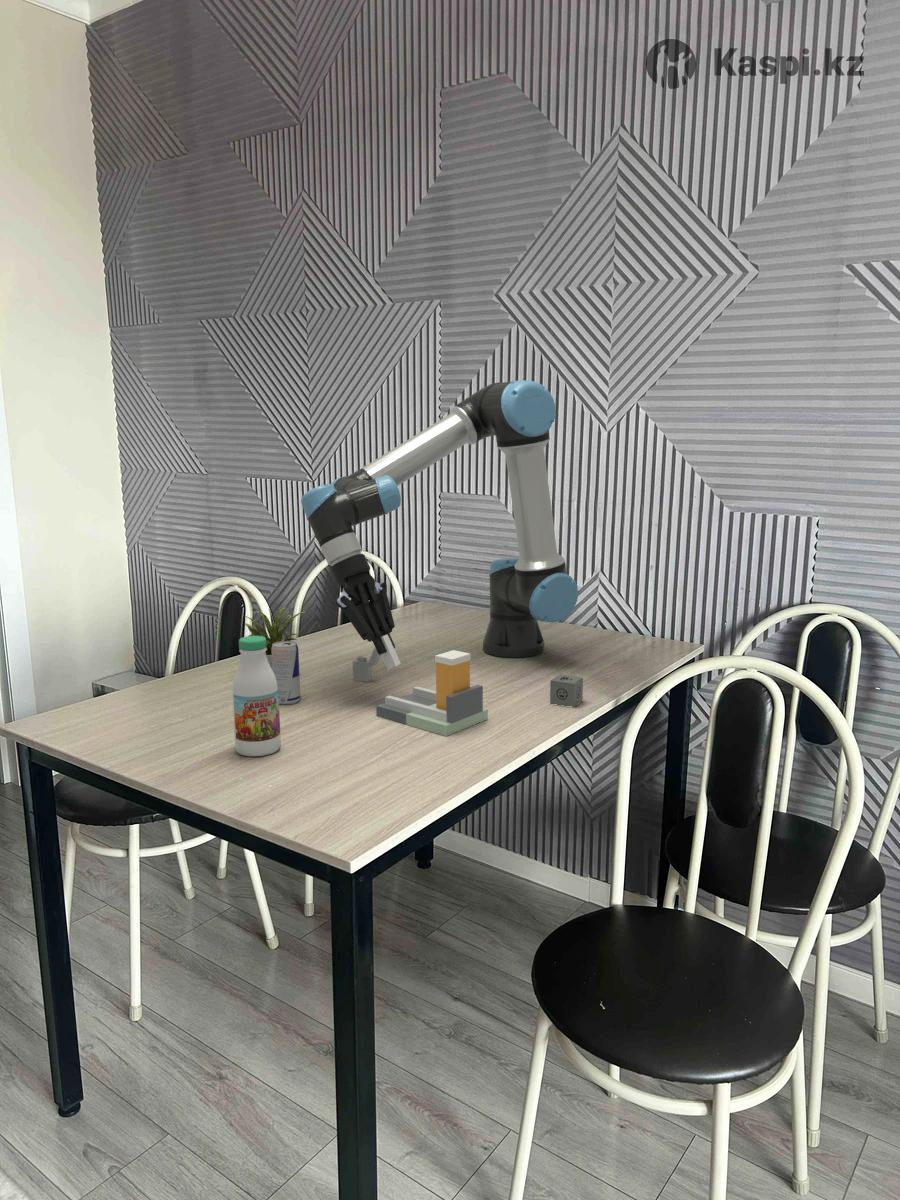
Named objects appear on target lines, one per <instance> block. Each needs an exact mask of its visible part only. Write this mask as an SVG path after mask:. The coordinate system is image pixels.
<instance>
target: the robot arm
mask: <svg viewBox="0 0 900 1200" xmlns="http://www.w3.org/2000/svg"><path fill="white" fill-rule="evenodd" d="M555 403H556V401H555V400H554V397H553V396H552V394H551V392H550V391H549V389H547V387H545V386H544V385H543V384H541V383H539V382H536V381H532V380H526V379H521V380H512V381H506V382H505V381H504V382H503V381H502V382H501V381H500V382H493V383H491V384H488V385H486V386H484V387H483V388H480V389H479V390H477V391H476V392H474V393H473V394H471V395H469V396H468V397H466V398H465V399H463V400H462V401H460V402H459V403H457V404H455V405H454V406H453V407H451V409H450V410H449V414H447V415H446V416H445V417H443V418H441V419H440V420H438V421H436V422H434V423H433V424H431V425H430V426H428V427H427V428H425V429H423V430H421V431H420V432H419V433H416V434H414V435H413V436H412V437H411V438H409V439H407V440H405V441H404V442H402V443H400V444H398V445H397V446H396V447H394V448H392V449H390V450H388V451H387V452H385V453H384V454H383V455H381V456H379V457H378V458H376V459H374V460H373V461H371V462H369V463H368V464H366V465H363V466H362V468H359V469H358V470H356V471H355V472H353V473H351V474H349V475H347V476H341V477H337V478H336V479H334V480H333V481H332V482H331V483H325V484H321V485H319V486H318V485H317V486H315V487H314V488H312V489H309V490H308V491H306V492H305V493H303V495H302V496H301V500H300V503H301V505H302V508H303V511H304V513H305V517H306V520H307V521H308V523H309V525H310V527H311V530H312V532H313V533H314V536H315V538H316V541H317V542H318V545H319V547H320V551H321V552H322V554H323V556H324V559H325V561H326V563H327V565H328V566H331V567H330V573H331V575H332V577H333V579H334V582H335V583H336V584H337V585H339V588H340V591H339V592H340V596H339V597H338V598H337V599H335V601H334V603H335V605H336V606H337V607H338V608H339V609H341V611H342V612H343V613H344V615H345V616H346V617H347V619H348V620H349V621H350V623H351V625H352V626H353V627H354V629H355V631H356V632H357V633H358V635H359V636H360V638H361V639H362V640H363V641H366V640H367V642H369V643H370V642H372V644H373V646H374V648H376V650H377V652H378V654H379V655H381V656H380V657H381V658H382V661H383V663H384V665H385V668H386V669H387V671H389V670H391V669H393V668H395V667H398V666H400V665H401V661H400V659H399V656H398V654H397V651H396V645H395V643H394V641H393V639H392V636H391V633H392V632H393V629H394V628H395V621H394V618H393V614H392V613H393V612H392V610H391V605H390V601H389V598H388V593H387V592H388V591H387V590H388V584H387V583H386V582H382V583H380V582H377V581H376V579H375V578H374V577H373V576H372V575H371V566H370V563H369V561H368V560H367V557H366V555H365V554H364V553H362V551H363V548H362V546H361V543H360V541H359V539H358V538H357V536H356V533H355V530H354V529H353V527H354V526H357V525H359V524H362V523H364V522H368V521H370V520H372V519H373V520H374V519H376V518H379V517H381V516H384V515H388V514H389V513H391V512H394V511H395V510H398V509H399V507H401V504H402V501H401V500H402V497H401V492H400V489H399V486H400V485H402V484H404V483H405V482H406V481H408V480H410V479H412V478H413V477H415V476H417V474H419V473H421V472H423V471H424V470H426V469H427V468H429V467H431V466H432V465H434V464H436V463H437V462H439V461H441V460H442V459H444V458H445V457H447V456H448V455H450V454H452V453H453V452H455V451H457V450H459V449H460V448H462V447H463V446H464V445H466V444H468V445H474V444H476V443H478V442H480V441H482V440H484V439H485V438H489V437H494V436H495V438H496V439H495V441H496V447H497V449H498V450H500V451H501V452H502V453H503V454H504V455H505V462H506V467H507V468H506V469H507V476H508V483H509V490H510V498H511V503H512V504H511V505H512V511H513V512H512V513H513V518H514V526H515V532H516V533H515V534H516V539H517V546H518V554H519V557H511V558H501V559H500V558H499V559H495V560H492V561H491V563H490V567H489V575H488V576H489V621H488V625H487V627H486V632H485V634H484V637H483V641H482V651H483V652H484V653H486V654H488V655H490V656H495V657H502V658H529V657H535V656H538V655H540V654H543V652H544V651H545V639H544V637H543V633H542V630H541V628H540V624H539V622H546V623H557V622H560V621H562V620H565V618H567V617H568V616H569V615H570V614H571V613H572V610H573V609H575V606H576V605H577V602H578V598H579V597H578V596H579V587H578V585H577V582H576V580H575V579H573V577H572V576H570V575H569V574H567V566H566V564H567V563H566V560H565V558H564V557H563V556H562V555H560V554H559V553H558V548H557V547H558V546H557V541H556V533H555V524H554V517H553V510H552V500H551V493H550V486H549V479H548V470H547V463H546V455H545V448H546V445H547V444H548V443H549V442H550V440H551V439H550V431H549V430H550V429H551V427H552V425H553V423H554V422H555V419H556V416H557V415H556V414H557V413H556V412H557V410H556V409H557V408H556V404H555Z"/></svg>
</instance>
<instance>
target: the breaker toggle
mask: <svg viewBox="0 0 900 1200" xmlns="http://www.w3.org/2000/svg"><path fill="white" fill-rule="evenodd" d="M471 657H472V655H471V653H469V652H463V651H460V650H459V651H458V650H455V649H452V650H449V651H446V652H443V653H439V654H436V655H434V662H435V689H436V690H435V691H436V708H437V709H441V710H445V711H446V696H447V695H450V694H453V693H456V692H459V691H461V690H464V689H467V688H470V687H471V668H470V667H471V662H470V661H471Z"/></svg>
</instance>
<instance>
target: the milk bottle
mask: <svg viewBox="0 0 900 1200" xmlns="http://www.w3.org/2000/svg"><path fill="white" fill-rule="evenodd" d="M266 646H267V642H266V638H265V637H263V636H249V635H248V636H244V637H241V638H239V639H238V649H239V653H240V659H239V660H240V661H239V664H238V666H237V670H236V672H235V674H234V678H233V682H232V709H233V710H232V712H233V727H234V741H235V742H234V744H235V750H236V752H237V753H238V754H239V755H242V756H246V757H264V756H268V755H272V754H274V753H276V752H277V751H279V750H280V747H281V745H282V743H281V742H282V741H281V721H280V719H281V718H280V704H279V700H278V687H277V681H276V677H275V675H274V673H273V671H272V669H271V667H270V665H269V663H268V660H267V657H266V650H267V648H266Z"/></svg>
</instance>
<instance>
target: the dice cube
mask: <svg viewBox="0 0 900 1200" xmlns="http://www.w3.org/2000/svg"><path fill="white" fill-rule="evenodd" d="M549 683H550V684H549V685H550V686H549V688H550V689H549V690H550V691H549V693H550V694H549V696H550V697H549V700H550V701H549V702H550V703H549V705H551V704H557V705H564V706H572V707H574V706H575V705H577V704H578V703H579V702H581V701H582V700H583V697H584V696H583V693H584V677H582V676H576V675H569V674H562V673H560V674H557V675H556V676H555V677H553V678H551V680H550V682H549ZM582 702H583V701H582ZM582 702H581V703H582ZM579 704H580V703H579ZM579 704H578V705H579ZM557 705H556V706H557ZM578 705H577V706H578ZM564 706H563V707H564ZM574 708H575V707H574Z"/></svg>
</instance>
